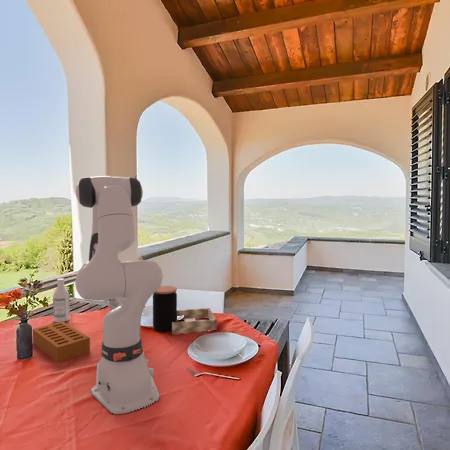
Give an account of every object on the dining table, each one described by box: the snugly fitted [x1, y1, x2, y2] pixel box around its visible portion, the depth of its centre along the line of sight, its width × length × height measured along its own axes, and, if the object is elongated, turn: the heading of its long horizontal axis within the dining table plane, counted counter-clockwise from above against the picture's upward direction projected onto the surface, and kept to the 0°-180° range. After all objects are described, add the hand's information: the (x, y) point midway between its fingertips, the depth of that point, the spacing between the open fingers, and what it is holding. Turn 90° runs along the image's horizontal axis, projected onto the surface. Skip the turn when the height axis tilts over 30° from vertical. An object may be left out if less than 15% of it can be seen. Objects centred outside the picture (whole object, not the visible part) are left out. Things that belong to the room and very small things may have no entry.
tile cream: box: [184, 318, 197, 321], centre depth 161 cm, size 5×5×2 cm
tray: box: [171, 307, 217, 335], centre depth 158 cm, size 20×17×5 cm
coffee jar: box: [152, 285, 178, 333], centre depth 154 cm, size 11×11×18 cm
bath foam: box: [52, 277, 71, 323], centre depth 162 cm, size 7×7×20 cm
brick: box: [32, 322, 91, 364], centre depth 134 cm, size 25×12×6 cm, turn 47°
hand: (133, 312), depth 152 cm, fingers closed
